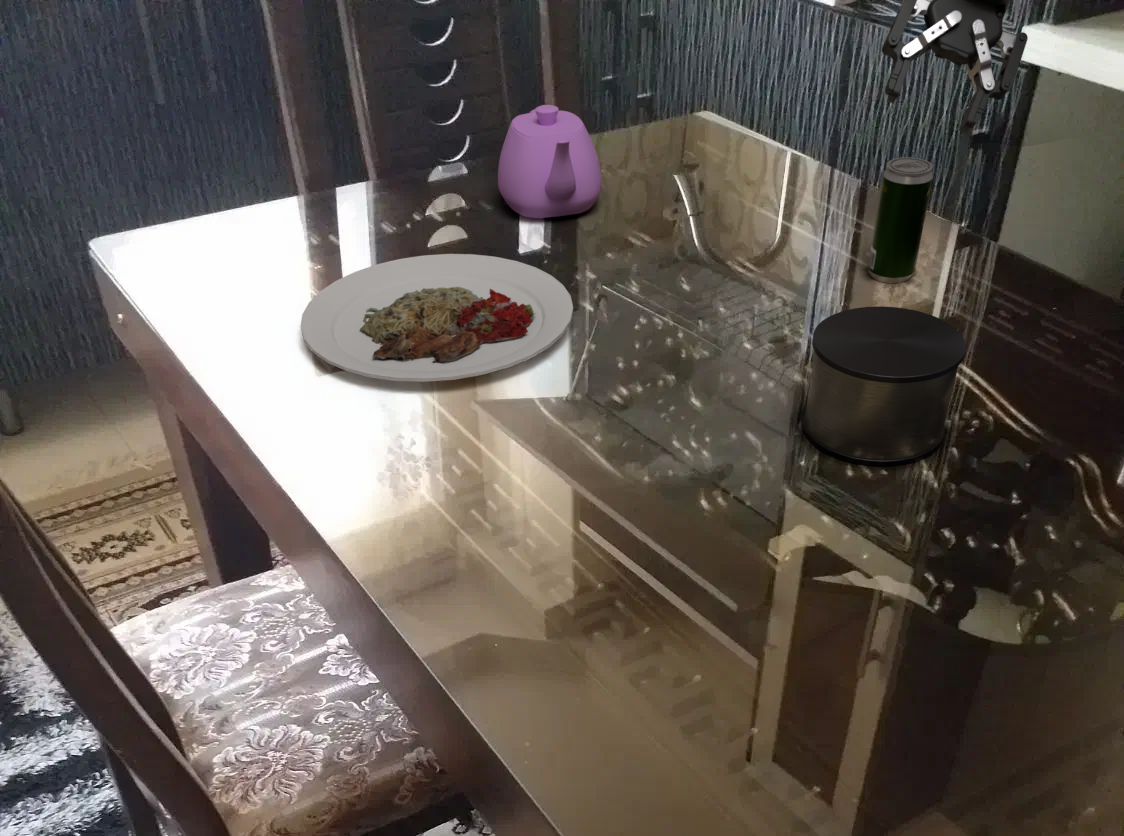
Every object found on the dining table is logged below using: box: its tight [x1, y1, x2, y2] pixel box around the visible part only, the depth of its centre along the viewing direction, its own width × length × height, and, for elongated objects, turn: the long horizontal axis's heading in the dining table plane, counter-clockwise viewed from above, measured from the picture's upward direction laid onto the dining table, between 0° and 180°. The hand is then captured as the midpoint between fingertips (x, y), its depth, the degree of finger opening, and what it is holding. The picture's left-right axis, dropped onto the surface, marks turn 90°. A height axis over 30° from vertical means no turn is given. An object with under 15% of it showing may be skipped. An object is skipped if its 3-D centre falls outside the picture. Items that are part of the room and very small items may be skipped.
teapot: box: [497, 104, 602, 220], centre depth 146 cm, size 20×13×12 cm, turn 13°
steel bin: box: [801, 305, 967, 467], centre depth 107 cm, size 14×14×9 cm
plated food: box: [300, 253, 574, 383], centre depth 127 cm, size 30×30×3 cm
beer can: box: [867, 156, 934, 284], centre depth 130 cm, size 5×5×12 cm
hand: (928, 114), depth 123 cm, fingers open, 8 cm apart
